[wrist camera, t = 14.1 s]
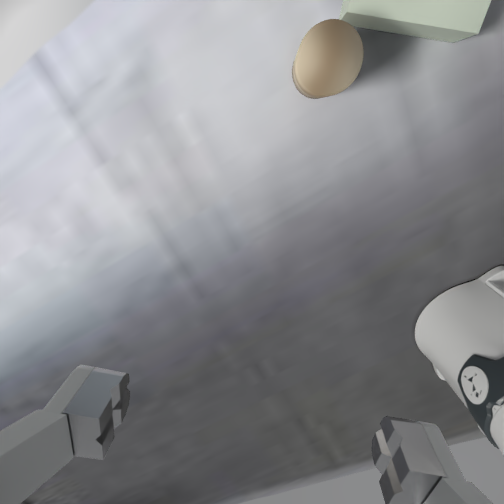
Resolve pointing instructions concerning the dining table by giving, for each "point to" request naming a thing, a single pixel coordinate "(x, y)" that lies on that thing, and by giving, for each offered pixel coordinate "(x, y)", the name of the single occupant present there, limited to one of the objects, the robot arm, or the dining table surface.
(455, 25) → the slot block
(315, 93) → the round beech peg
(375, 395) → the dining table surface
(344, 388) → the dining table surface
